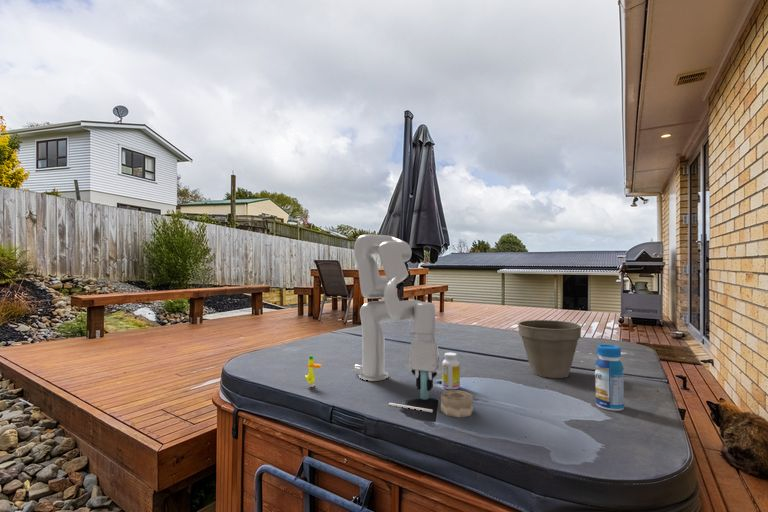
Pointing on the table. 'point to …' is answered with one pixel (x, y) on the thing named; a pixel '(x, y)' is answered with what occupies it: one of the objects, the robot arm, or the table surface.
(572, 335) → the plant pot
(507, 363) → the table surface
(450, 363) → the supplement bottle
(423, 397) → the needle dowel
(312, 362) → the toy figure
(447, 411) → the tan faceted bowl
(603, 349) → the beverage bottle
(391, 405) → the white flute
